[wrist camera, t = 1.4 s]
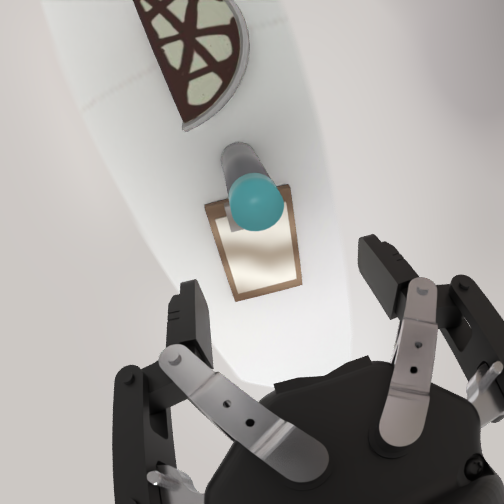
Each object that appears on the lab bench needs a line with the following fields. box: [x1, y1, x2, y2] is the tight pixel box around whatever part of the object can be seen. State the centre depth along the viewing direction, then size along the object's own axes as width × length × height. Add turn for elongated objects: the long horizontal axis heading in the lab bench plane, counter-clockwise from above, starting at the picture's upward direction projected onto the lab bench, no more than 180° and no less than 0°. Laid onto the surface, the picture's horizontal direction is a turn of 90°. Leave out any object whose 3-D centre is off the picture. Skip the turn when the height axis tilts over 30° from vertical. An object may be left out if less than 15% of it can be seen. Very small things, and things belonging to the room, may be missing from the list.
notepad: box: [205, 184, 302, 302], centre depth 34 cm, size 14×9×2 cm, turn 11°
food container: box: [133, 0, 250, 132], centre depth 17 cm, size 12×6×10 cm, turn 18°
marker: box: [221, 142, 284, 231], centre depth 24 cm, size 4×4×11 cm
